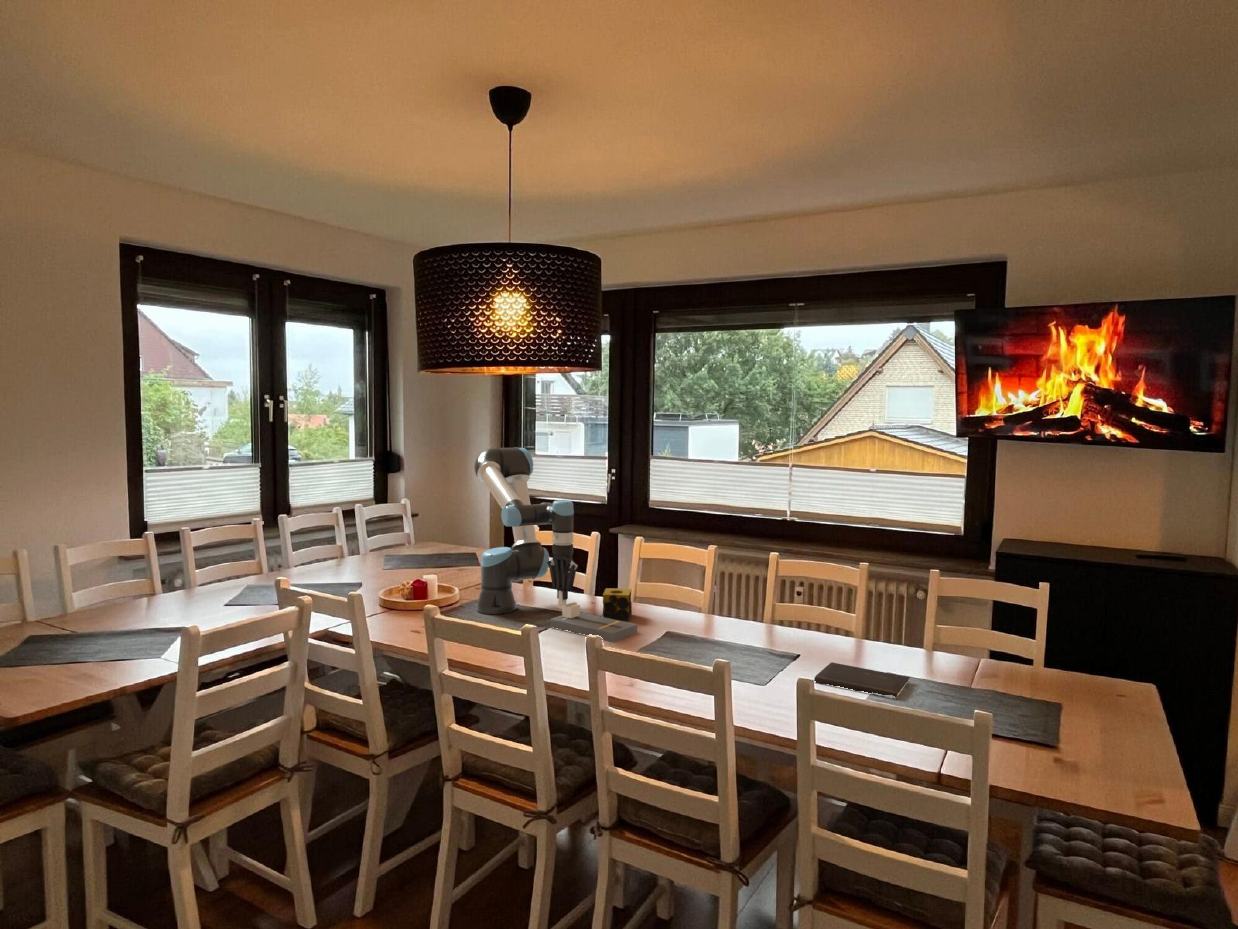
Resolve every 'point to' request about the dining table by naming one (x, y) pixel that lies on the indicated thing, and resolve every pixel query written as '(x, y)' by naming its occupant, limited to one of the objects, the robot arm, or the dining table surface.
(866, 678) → the hardcover book
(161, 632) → the dining table surface
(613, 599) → the candle
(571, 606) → the fader tab
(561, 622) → the fader board
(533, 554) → the robot arm
